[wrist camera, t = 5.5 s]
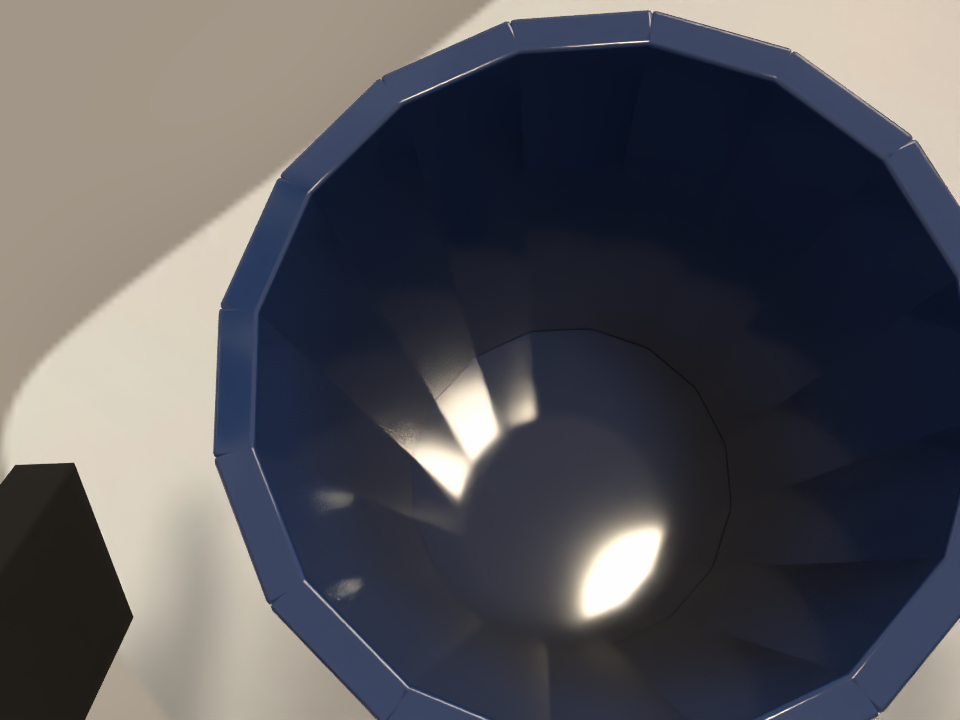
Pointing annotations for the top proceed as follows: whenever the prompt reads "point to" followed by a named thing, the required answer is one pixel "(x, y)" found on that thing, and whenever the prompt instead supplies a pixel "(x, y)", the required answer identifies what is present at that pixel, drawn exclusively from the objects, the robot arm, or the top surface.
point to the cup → (603, 385)
